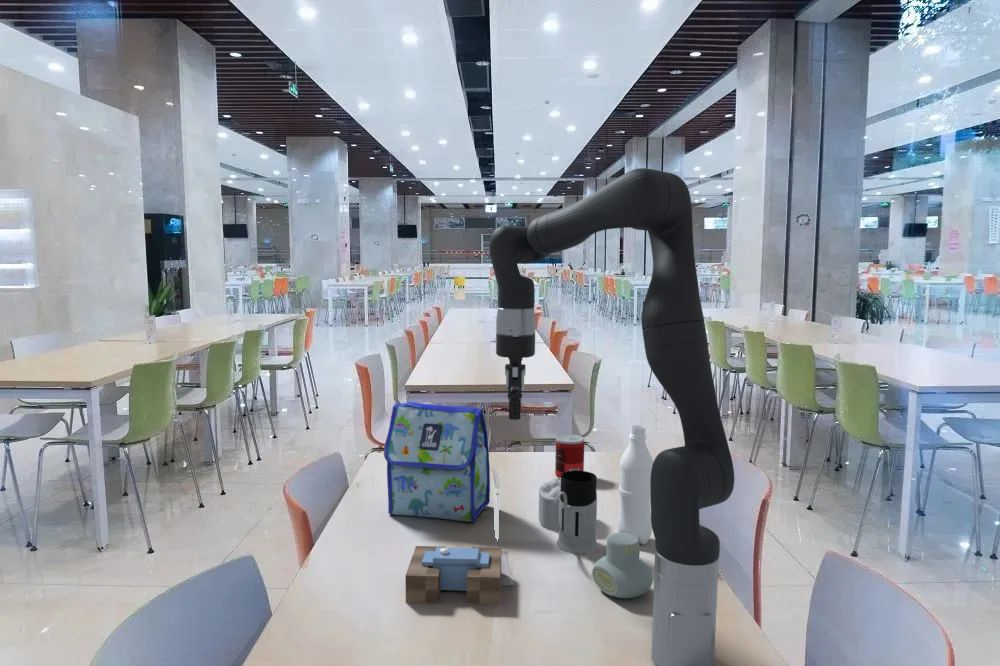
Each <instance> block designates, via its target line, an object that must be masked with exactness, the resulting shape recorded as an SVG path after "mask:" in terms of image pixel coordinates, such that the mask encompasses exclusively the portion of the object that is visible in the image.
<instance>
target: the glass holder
mask: <svg viewBox="0 0 1000 666" xmlns="http://www.w3.org/2000/svg"><path fill="white" fill-rule="evenodd" d="M597 477H598V476H597V475H596V474H594V473H593V472H590V471H585V470H584V471H567V472H564V473H562V474H561V490H560V492H559V493H558V494H557V496H556V498H555V501H554V519H555V523H556V527H557V529H558V530H557V531H558V539H557V540H556V546H557V548H559V549H560V550H561V551H563V552H566V553H569V554H575V555H576V554H577V555H582V554H590V553H593V552H595V551H596V550H597V549H598V548H599V543H598V542H597V515H598V513H597V512H598V511H597V510H598V507H597V506H598V495H597V481H598V480H597ZM559 497H560V498H559ZM558 499H559V521H558V515H557V505H558Z"/></svg>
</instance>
